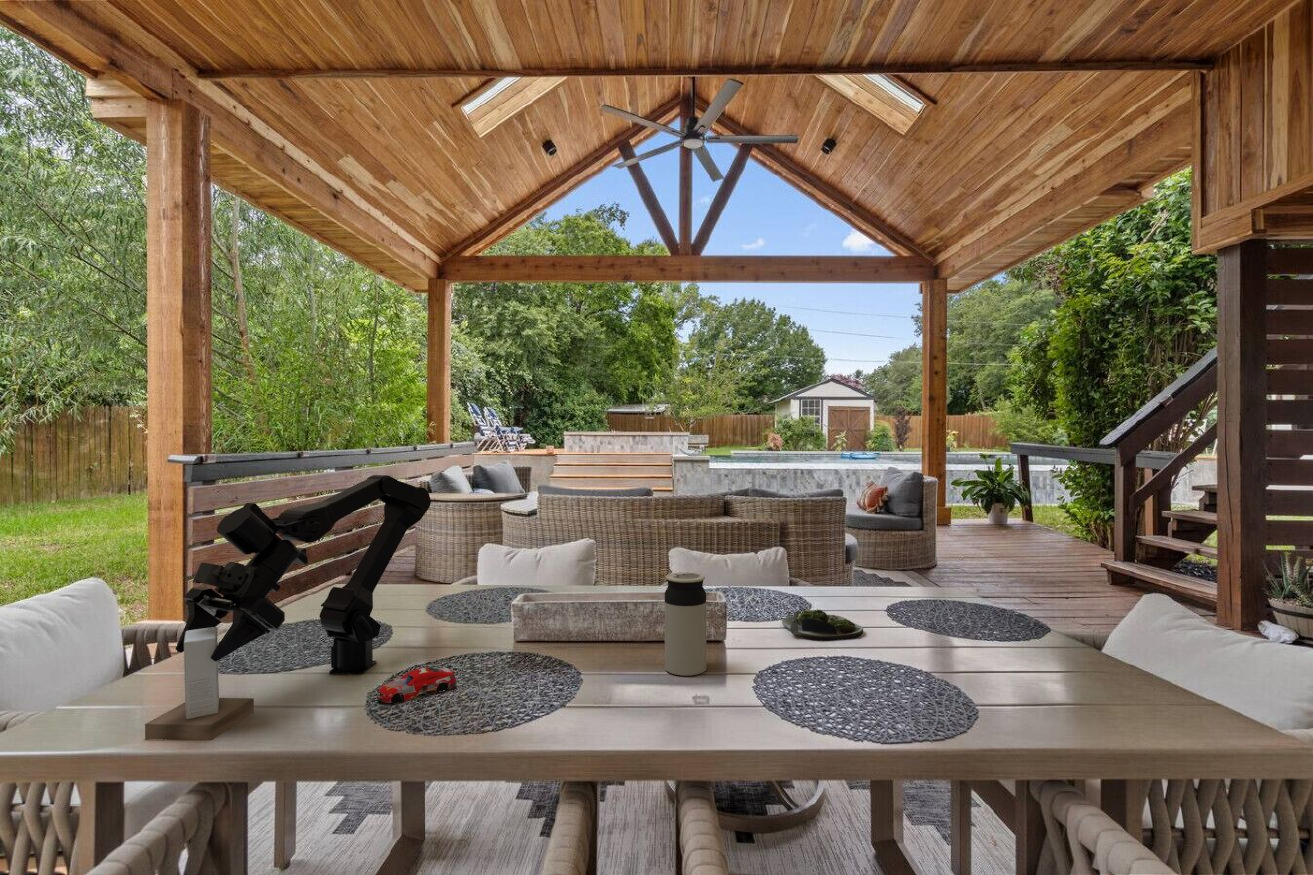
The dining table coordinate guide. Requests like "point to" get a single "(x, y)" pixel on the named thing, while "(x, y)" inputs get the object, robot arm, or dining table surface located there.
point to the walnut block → (199, 721)
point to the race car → (417, 684)
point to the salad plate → (821, 626)
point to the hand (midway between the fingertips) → (195, 655)
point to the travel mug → (685, 624)
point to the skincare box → (201, 673)
